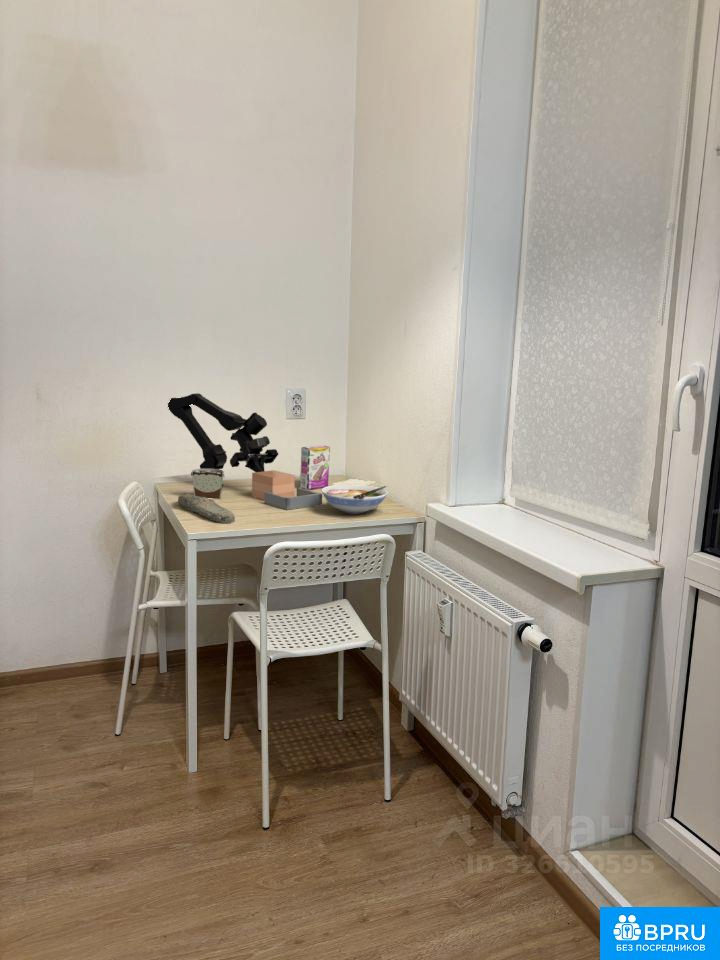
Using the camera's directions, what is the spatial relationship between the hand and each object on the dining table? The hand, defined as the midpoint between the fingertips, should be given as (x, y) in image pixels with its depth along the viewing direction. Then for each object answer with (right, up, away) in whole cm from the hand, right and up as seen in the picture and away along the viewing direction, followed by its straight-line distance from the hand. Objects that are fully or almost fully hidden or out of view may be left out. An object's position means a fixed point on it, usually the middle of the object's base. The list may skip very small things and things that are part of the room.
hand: (263, 475), depth 287 cm
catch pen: (+12, -10, -12) cm, 20 cm away
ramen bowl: (+33, -13, -21) cm, 41 cm away
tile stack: (+4, -8, -3) cm, 10 cm away
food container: (-19, -8, -5) cm, 21 cm away
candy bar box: (+18, -5, +18) cm, 26 cm away
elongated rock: (-16, -13, -29) cm, 36 cm away
